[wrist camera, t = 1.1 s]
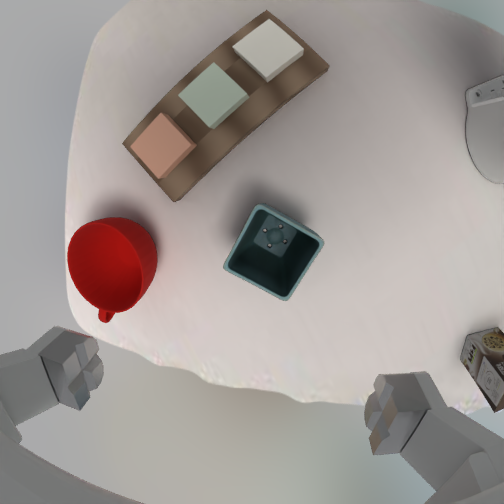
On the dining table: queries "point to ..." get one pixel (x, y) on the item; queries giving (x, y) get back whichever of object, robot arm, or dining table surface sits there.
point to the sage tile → (213, 96)
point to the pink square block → (163, 145)
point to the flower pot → (273, 252)
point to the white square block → (268, 50)
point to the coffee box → (486, 364)
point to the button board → (238, 122)
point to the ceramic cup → (112, 264)
